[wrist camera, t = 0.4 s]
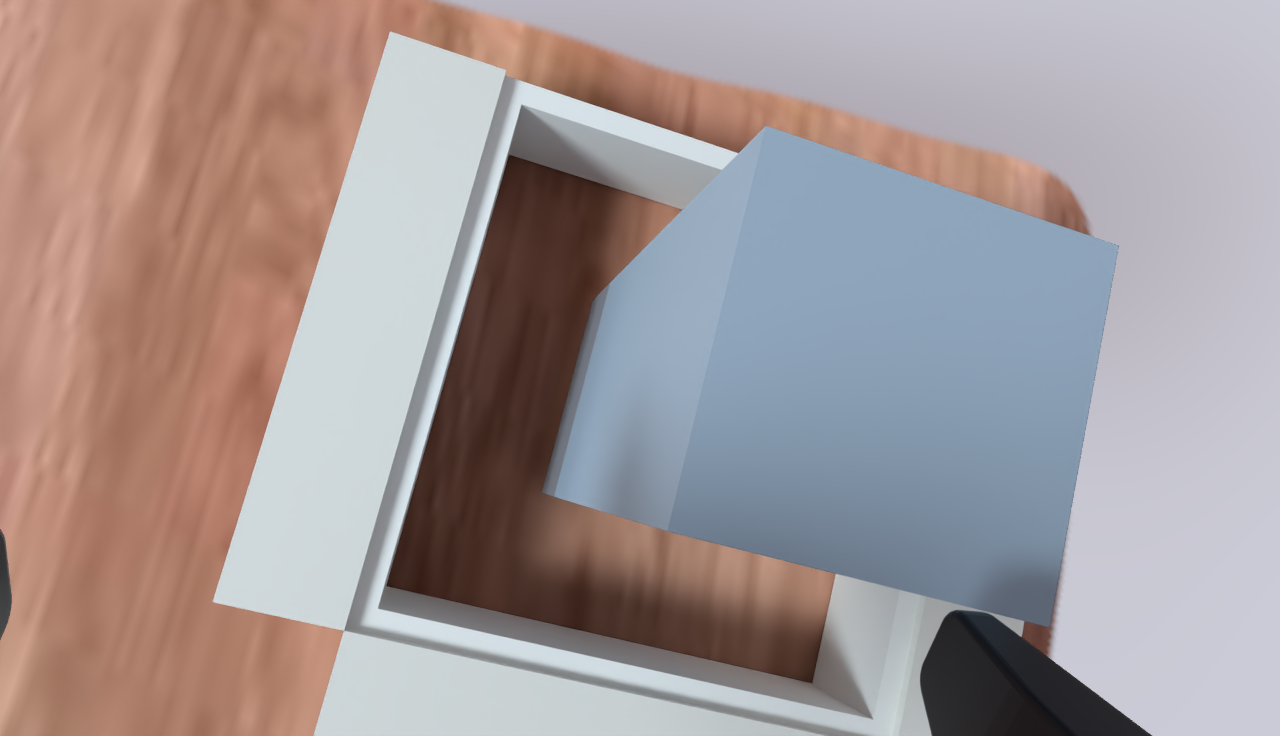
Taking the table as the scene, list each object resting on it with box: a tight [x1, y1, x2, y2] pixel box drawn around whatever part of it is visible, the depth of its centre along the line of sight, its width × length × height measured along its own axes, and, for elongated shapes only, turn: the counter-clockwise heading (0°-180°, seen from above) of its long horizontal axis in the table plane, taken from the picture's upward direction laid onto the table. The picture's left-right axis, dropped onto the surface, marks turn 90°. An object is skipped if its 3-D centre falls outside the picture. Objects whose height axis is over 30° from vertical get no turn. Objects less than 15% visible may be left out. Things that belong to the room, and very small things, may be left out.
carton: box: [213, 32, 1024, 736], centre depth 22 cm, size 14×17×4 cm
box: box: [542, 126, 1119, 628], centre depth 18 cm, size 5×5×13 cm
